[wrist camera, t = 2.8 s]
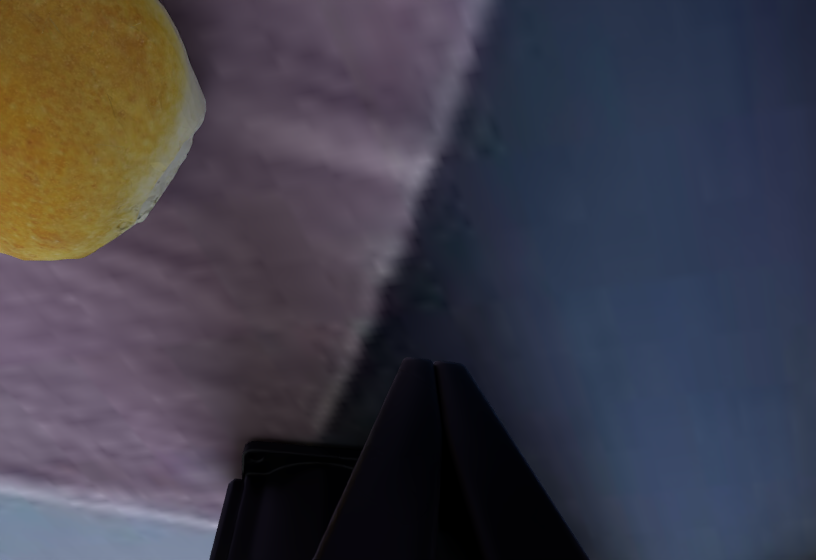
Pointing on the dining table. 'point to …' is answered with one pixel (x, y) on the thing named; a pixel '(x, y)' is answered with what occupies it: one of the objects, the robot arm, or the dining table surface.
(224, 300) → the dining table surface
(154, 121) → the bread roll
